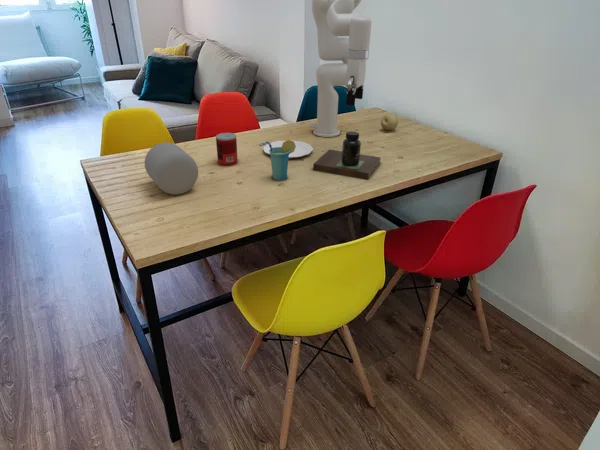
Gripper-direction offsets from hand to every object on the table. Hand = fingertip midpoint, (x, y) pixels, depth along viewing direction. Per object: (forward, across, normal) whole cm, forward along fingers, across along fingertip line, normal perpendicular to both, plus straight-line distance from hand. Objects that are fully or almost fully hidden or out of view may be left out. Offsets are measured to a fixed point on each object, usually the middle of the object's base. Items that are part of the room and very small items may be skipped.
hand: (354, 101), depth 171 cm
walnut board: (+24, +6, +1) cm, 25 cm away
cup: (+24, +28, -19) cm, 42 cm away
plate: (+25, +2, -27) cm, 37 cm away
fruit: (+25, -47, +5) cm, 53 cm away
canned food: (+24, +23, -44) cm, 55 cm away
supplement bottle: (+21, +9, +3) cm, 23 cm away
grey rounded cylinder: (+24, +51, -53) cm, 77 cm away
